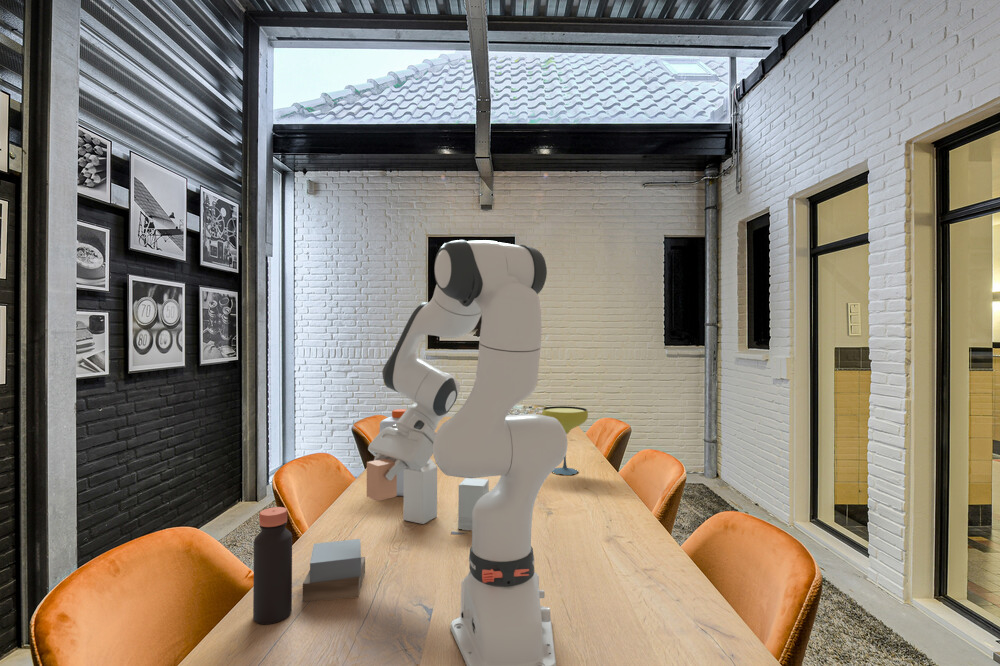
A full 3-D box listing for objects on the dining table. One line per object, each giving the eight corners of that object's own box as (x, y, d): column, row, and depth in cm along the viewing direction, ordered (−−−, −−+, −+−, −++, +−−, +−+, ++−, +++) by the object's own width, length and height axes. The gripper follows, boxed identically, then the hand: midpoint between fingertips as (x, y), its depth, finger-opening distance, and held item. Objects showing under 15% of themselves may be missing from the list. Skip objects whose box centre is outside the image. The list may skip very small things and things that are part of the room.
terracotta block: (396, 496, 116) (396, 462, 116) (377, 501, 112) (377, 465, 112) (385, 491, 119) (385, 458, 120) (366, 496, 116) (366, 462, 116)
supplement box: (483, 532, 136) (483, 486, 136) (457, 530, 137) (457, 484, 138) (489, 522, 143) (489, 478, 143) (464, 520, 145) (464, 477, 145)
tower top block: (360, 576, 103) (360, 557, 103) (309, 583, 100) (309, 563, 100) (360, 556, 113) (360, 538, 113) (313, 561, 110) (313, 543, 110)
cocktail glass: (594, 470, 200) (594, 408, 200) (576, 480, 185) (576, 414, 185) (554, 463, 210) (554, 405, 210) (534, 473, 194) (534, 410, 195)
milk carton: (403, 520, 144) (403, 455, 145) (418, 512, 151) (418, 450, 151) (422, 524, 141) (423, 458, 141) (437, 516, 147) (437, 453, 147)
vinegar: (281, 601, 100) (282, 502, 100) (298, 613, 95) (299, 510, 96) (246, 616, 95) (247, 511, 95) (263, 629, 90) (264, 520, 90)
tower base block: (358, 599, 102) (358, 580, 102) (302, 603, 100) (302, 583, 100) (365, 574, 113) (365, 556, 113) (314, 577, 111) (314, 559, 111)
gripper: (384, 416, 128) (349, 460, 121) (431, 425, 114) (394, 476, 107) (398, 431, 131) (365, 475, 124) (446, 442, 117) (411, 492, 110)
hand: (379, 475), depth 116 cm, fingers closed on terracotta block, 5 cm apart
